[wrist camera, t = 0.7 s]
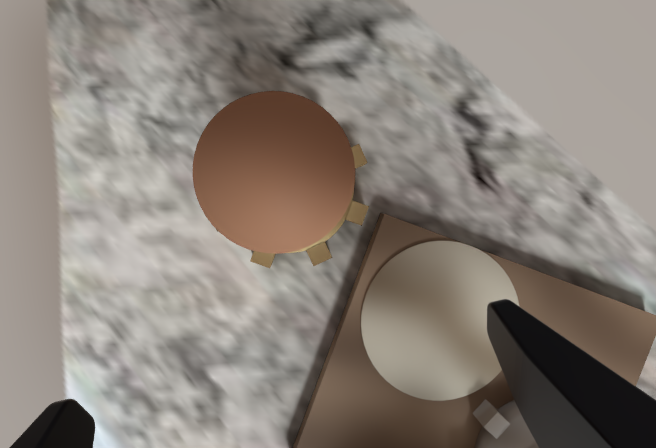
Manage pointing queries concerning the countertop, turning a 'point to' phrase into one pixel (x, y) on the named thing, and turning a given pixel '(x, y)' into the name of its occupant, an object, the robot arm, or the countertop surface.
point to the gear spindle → (277, 175)
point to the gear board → (448, 345)
